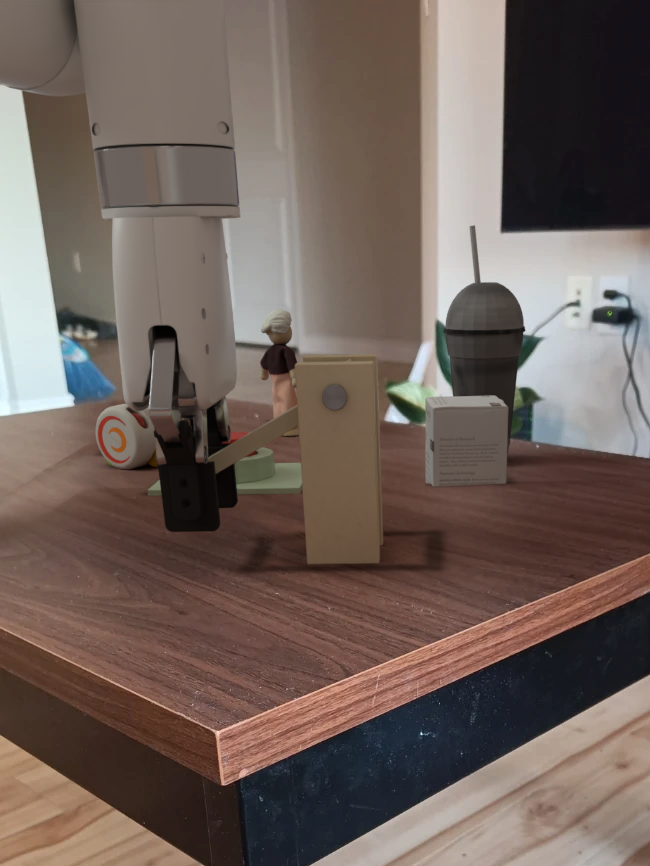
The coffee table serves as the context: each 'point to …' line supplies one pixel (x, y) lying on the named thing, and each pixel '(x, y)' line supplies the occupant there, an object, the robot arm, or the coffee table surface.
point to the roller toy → (126, 437)
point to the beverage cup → (485, 339)
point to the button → (236, 436)
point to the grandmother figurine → (280, 363)
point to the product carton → (466, 440)
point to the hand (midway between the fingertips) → (203, 515)
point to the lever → (255, 439)
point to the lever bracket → (340, 457)
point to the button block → (260, 476)
